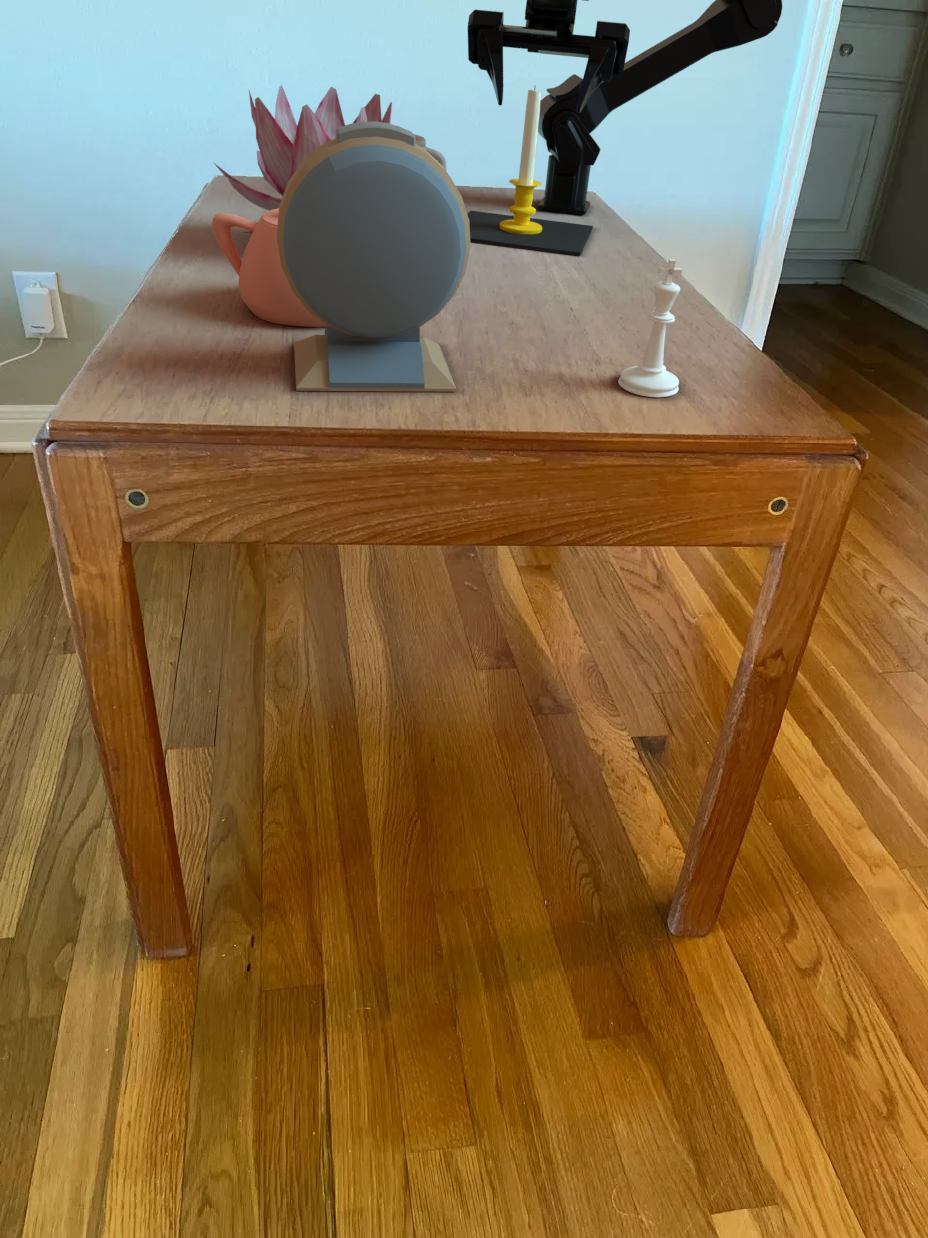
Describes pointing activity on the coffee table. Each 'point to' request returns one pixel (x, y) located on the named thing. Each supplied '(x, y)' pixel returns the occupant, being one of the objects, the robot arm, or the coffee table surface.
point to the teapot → (262, 270)
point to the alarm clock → (372, 259)
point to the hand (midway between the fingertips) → (539, 106)
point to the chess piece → (656, 344)
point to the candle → (526, 174)
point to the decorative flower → (295, 139)
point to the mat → (549, 239)
